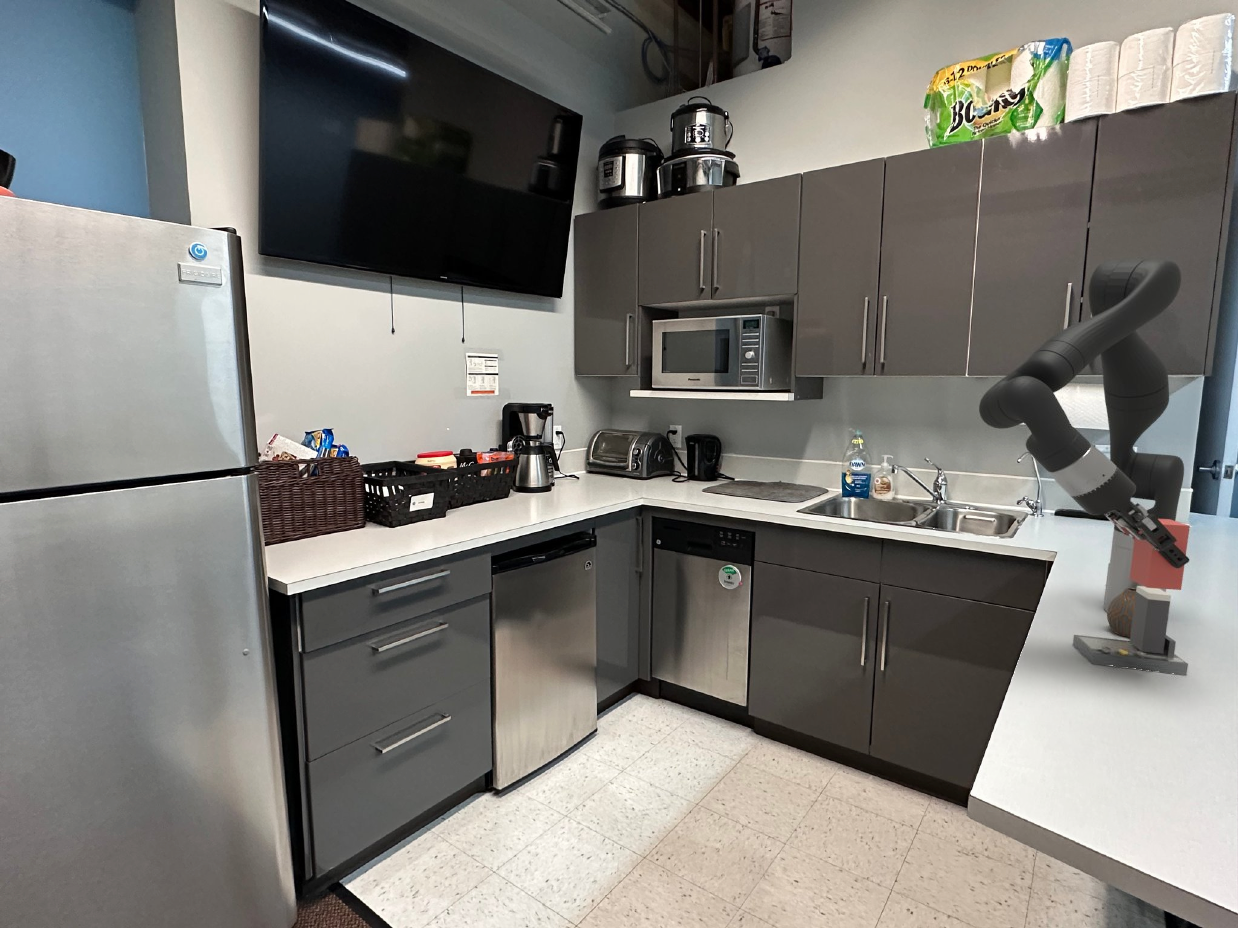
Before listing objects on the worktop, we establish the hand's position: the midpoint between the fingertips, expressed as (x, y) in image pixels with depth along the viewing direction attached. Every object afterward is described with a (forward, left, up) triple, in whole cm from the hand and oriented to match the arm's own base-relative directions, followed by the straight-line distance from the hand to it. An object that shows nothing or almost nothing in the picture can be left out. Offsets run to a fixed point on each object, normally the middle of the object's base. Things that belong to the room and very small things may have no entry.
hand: (1172, 559), depth 96 cm
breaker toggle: (-7, +2, -17) cm, 19 cm away
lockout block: (0, -2, -4) cm, 5 cm away
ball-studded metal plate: (-8, 0, -20) cm, 21 cm away
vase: (-21, +7, -20) cm, 29 cm away
